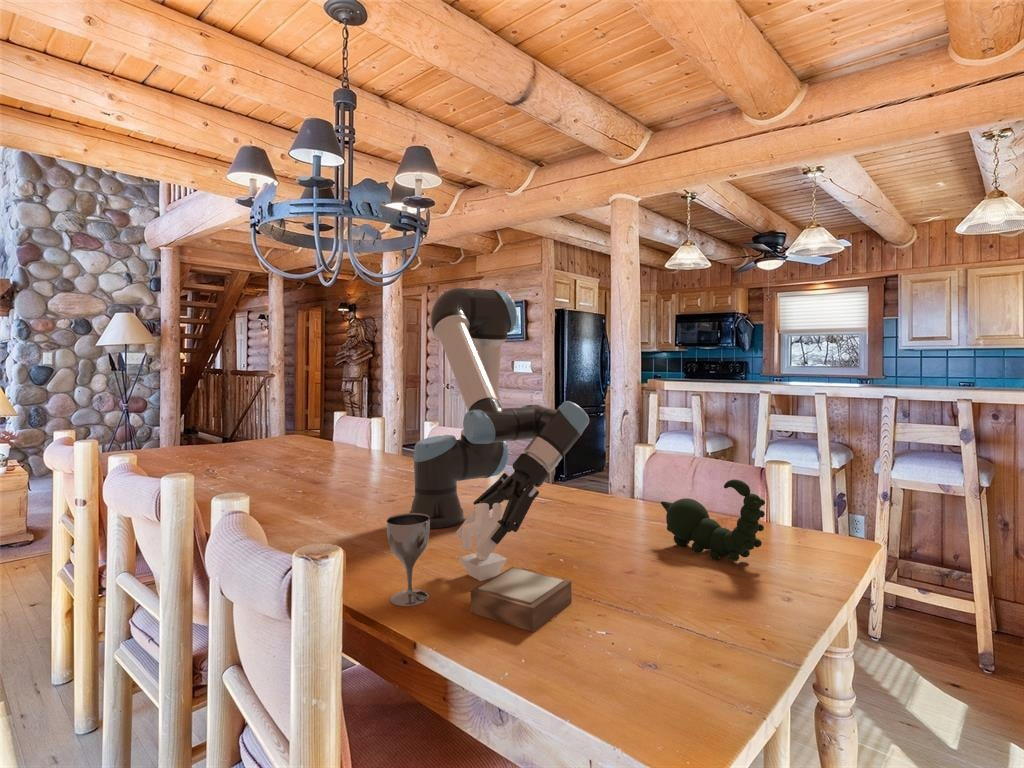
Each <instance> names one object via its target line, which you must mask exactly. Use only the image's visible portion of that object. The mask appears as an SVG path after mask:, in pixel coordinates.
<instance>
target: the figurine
mask: <svg viewBox="0 0 1024 768" xmlns="http://www.w3.org/2000/svg"><path fill="white" fill-rule="evenodd" d="M474 510H475V515H476V519H475V521H474V522H470V523H466V524H465V525H464V526H463V528H462V538H461V545H462V546H461V548H462V550H464V551H465V552H469V551H471V550H472V542H473V537H474V536H475V552H473V553H469V554H466V555H462V556H458V559H459V561H460V563H461V564H462V566H463V568H464V569H465V572H466V573H467V574H468V576H470V577H472V578H474V579H475V580H476V581H477V580H478V581H479V582H483V581H487V580H490V579H492V578H493V577H495V576H497V575H499V574H501V571H502V570H503V567H504V566H505V563H506V561H507V560H508V558H507V557H505V556H503V555H500V554H498V553H496V552H493V551H492V552H491V554H490V555H489V556H488V557H487V559H486V558H485V557H483V556H482V555H481V554H480V553H479V552H478V551H477V550H476V549H477V547H478V546H479V545H480V543H481V542H482V541H483V540H484V538H485V537H486V536H487V535H488V533H489V532H490V531H491V530H492V528H493V527H494V526H495V525H496V523H498V522H497V521H499V520H501V519H502V517H503V507H502V504H501V503H500V504H499V503H494V504H493V509H492V514H490V511H489V504H487V503H478V504H475V505H474ZM498 524H499V523H498ZM499 525H500V524H499ZM500 526H501V525H500Z"/></svg>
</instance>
